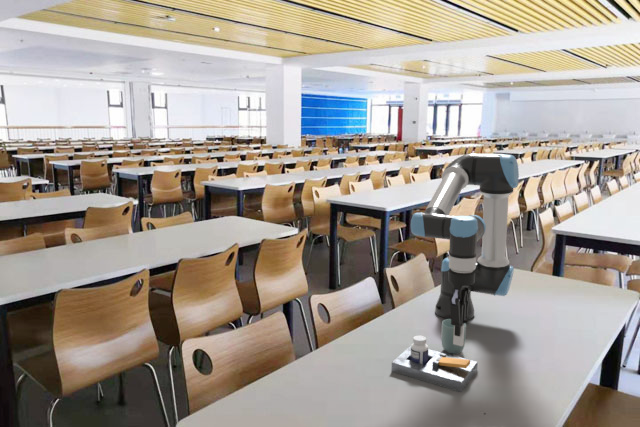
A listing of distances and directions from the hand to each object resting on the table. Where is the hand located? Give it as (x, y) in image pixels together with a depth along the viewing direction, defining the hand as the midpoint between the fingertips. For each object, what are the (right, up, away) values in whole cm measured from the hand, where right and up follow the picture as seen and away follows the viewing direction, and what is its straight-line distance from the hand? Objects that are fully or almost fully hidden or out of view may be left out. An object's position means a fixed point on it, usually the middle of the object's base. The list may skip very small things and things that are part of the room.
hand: (458, 344), depth 155 cm
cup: (+3, -7, +19) cm, 21 cm away
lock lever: (-1, -7, +2) cm, 7 cm away
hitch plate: (-6, -10, +5) cm, 13 cm away
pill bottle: (-10, -9, +8) cm, 16 cm away
